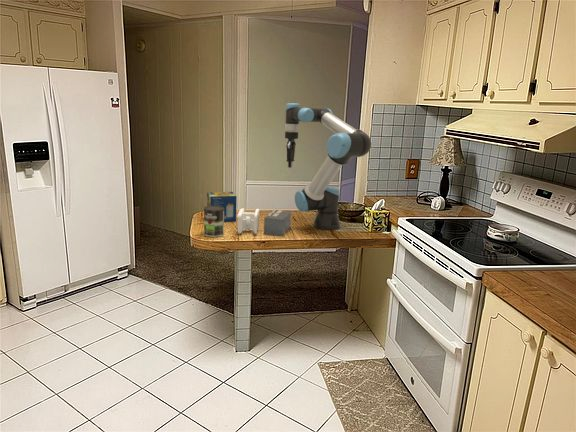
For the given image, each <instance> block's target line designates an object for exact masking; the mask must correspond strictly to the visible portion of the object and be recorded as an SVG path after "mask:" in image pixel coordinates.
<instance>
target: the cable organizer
mask: <svg viewBox="0 0 576 432" xmlns="http://www.w3.org/2000/svg"><path fill="white" fill-rule="evenodd" d="M236 219H237V234H239V235H241V234H242V232H243V231H246V230H250V232H253V234H254V235H257V234H258V232H259V228H260V208H256V209H255V212H249V211H248V212H247V211H245V208H244V207H243V208H240V209H239V211H238V213H236Z"/></svg>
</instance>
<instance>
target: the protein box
mask: <svg viewBox="0 0 576 432" xmlns="http://www.w3.org/2000/svg"><path fill="white" fill-rule="evenodd" d="M237 201H238V200H237V195H236V194H235V193H234V192H233V191H219V192H207V193H206V206H221V207H224V223H232V222H233V223H235V222H236V223H237Z"/></svg>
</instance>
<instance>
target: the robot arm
mask: <svg viewBox="0 0 576 432" xmlns="http://www.w3.org/2000/svg"><path fill="white" fill-rule="evenodd" d="M285 106H286V109H285V124H284V128H285V129H284V130H285V132H284V138H285V139H287V143H286V162H287V171H286V172H287V174H293V173H294V172H293V169H294V162H295V154H296V146H297V144H296V140H298V139H299V127H300V124H299V123H320V124H321V125H322V126H325V127H326V128H327V129H329V130H330V131H331V132H333V133H334V134H332V135H331V136H330V137H329V139H328V140H327V143H326V154H327V155H326V158H325V160H324V162H322V164H321V166H320V167H319V168H318V171H317V172H316V173H315V175H314V177H313V179H312V180H311V182H310V183H306V184H305V185H304V187H303V189H302V190H301V189H299V190H296V192H295V194H294V203H295V206H296V208H297V210H299V211H300V212H306V213H307V212H312V211H313V212H314V211H316V215H315V218H314V219H313V224H312V225H313V227H315V228H316V229H320V230H326V231H327V230H331V231H332V230H337V229H340V228H341V227H340V226H341V223H340V222H341V221H340V218H339V201H340V189H339V188H338V187H334V186H330V184H331V183H332V181H333V180H334V178H335V177H336V176H337V174H338V172H339V171H340V170H341V168H342V166H345V165H347V164H348V163H349V161H350V160H351V159H352V158H361V157H365V156H366V155H367V154H369V152H370V150H371V148H372V140H371V138H370V136H369V134H367V133H366V132H365V131H363V130H362V129H360V128H359V129H356V128H355V127H353V126H352V125H350V124H348V123H347V122H345V121H343V119H340V118H339V117H337V116H336V115H334V113H333V112H332V109H330V108H326V107H324V108H323V107H321V108H320V107H318V108H317V107H300V103H293V102H291V103H290V102H288V103H286V105H285Z"/></svg>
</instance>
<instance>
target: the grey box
mask: <svg viewBox="0 0 576 432" xmlns="http://www.w3.org/2000/svg"><path fill="white" fill-rule="evenodd" d="M291 218H292V211H287V210H279V209H273V210H272V211H271V212H269V213H268V214H266V215H265V217H264V220H263V221H264V222H263V234H264V235H267V236H268V235H269V236H270V235H271V236H278V237H283V236H284V235H285V234H286V232H287V231H288V230H289V229H290V228H291V221H292V219H291Z"/></svg>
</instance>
